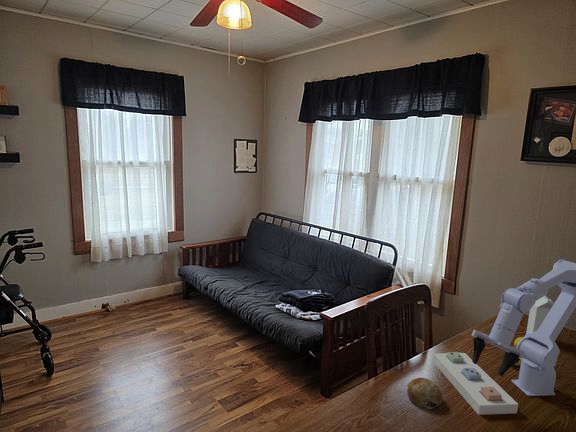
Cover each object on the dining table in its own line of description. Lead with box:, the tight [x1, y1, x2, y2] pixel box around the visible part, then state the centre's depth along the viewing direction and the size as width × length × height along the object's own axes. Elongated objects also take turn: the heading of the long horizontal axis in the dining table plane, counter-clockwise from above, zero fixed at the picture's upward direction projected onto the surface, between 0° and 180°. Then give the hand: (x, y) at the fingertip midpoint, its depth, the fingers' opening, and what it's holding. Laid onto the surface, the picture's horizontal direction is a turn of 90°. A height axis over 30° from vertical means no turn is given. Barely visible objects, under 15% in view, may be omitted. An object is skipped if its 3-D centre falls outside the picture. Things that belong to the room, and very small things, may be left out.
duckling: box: [505, 336, 524, 366], centre depth 135 cm, size 11×5×10 cm, turn 108°
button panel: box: [432, 352, 519, 416], centre depth 123 cm, size 12×28×3 cm, turn 6°
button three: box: [462, 368, 481, 381], centre depth 122 cm, size 4×4×3 cm
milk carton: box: [525, 295, 555, 335], centre depth 153 cm, size 7×7×19 cm
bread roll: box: [406, 377, 443, 410], centre depth 114 cm, size 10×10×8 cm
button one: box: [480, 387, 502, 401], centre depth 112 cm, size 4×4×3 cm
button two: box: [446, 351, 464, 363], centre depth 132 cm, size 4×4×3 cm
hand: (486, 368), depth 112 cm, fingers open, 7 cm apart
